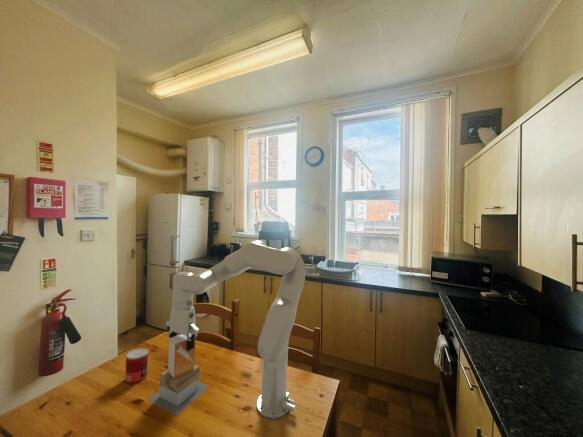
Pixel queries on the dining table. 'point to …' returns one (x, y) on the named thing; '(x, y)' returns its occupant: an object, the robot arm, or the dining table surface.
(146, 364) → the canned food
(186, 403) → the mat
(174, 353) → the small box
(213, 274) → the robot arm
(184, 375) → the tower top
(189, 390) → the tower base
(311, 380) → the dining table surface
